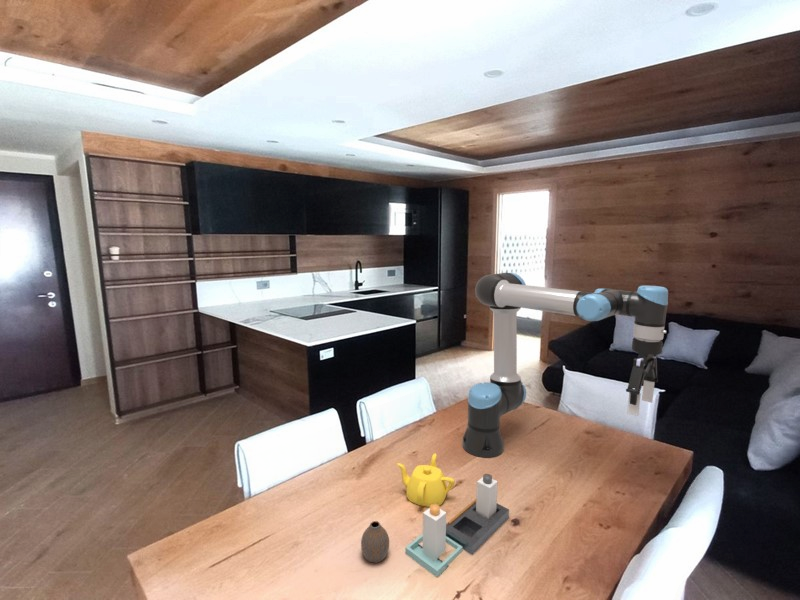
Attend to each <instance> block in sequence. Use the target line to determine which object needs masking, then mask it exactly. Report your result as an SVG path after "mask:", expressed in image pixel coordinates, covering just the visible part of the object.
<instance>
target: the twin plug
mask: <svg viewBox="0 0 800 600" xmlns="http://www.w3.org/2000/svg"><path fill="white" fill-rule="evenodd" d="M498 483H499V482H498V481H497V480H495V479H493V475H492V474H489V473H484V474H483V475H482V477H481V478H480V479H478V480H477V481H476V498H475V499H476V512H477V513H479V514H480V515H482V516H484V517H486V518H487V519H489V520H490V519H491V518H492V517H493V516H494V515H495V514H496V508H497V503H498Z"/></svg>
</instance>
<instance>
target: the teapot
mask: <svg viewBox="0 0 800 600" xmlns="http://www.w3.org/2000/svg"><path fill="white" fill-rule="evenodd" d="M396 465H397V466H398V467H399V468H400V471H401V479H402V480H401V481H402V484H403V485H404V486H405V488H406V491H405V492H406V497H407V499H408V501H409V502H411V503H413V504H415V505H418V506H420V507H426V508H430V505H431V504H438V505H439V506H440V507H441V505H442V504H443V503H444V501H445V499H446V498H447V495H448V493H449V491H450V490H452V489H453V488H454V486H455V479H454V478H453V477H450V476H445V475H444V473H443V471H442V469H441V468H438V467H437V453H433V454H432V456H431V460H430V463H429V464H420V465H417V466H416V467H415V468H414V469H413V471H412V473H411V475H410V476H409V475H408V473H407V467H406V466H405V465H404V464H402V463H400V462H396ZM447 482H448V484H447Z"/></svg>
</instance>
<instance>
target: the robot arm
mask: <svg viewBox="0 0 800 600" xmlns="http://www.w3.org/2000/svg"><path fill="white" fill-rule="evenodd" d="M474 292H475V296H476V298H477V299H478V301H479V302H480V303H481V304H483V305H484V306H487V307H489V309H490V310H491V311H492V313H493V373H492V374H491V375H490V376H489V380H490V381H489V382H478V383H476V384H474V385H472V386H471V387H470V389H469V390H468V397H467V404H468V405H467V407H468V409H467V427H466V429H465V432H464V434H463V437H462V448H463V450H464V451H466V452H467V453H468V454H470V455H473V456H475V457H481V458H495V457H497V456H500V455H501V454H502V453H503V452H504V444H505V443H504V441H503V436H502V433H501V429H500V427H501V425H500V424H501V417H502V416H503V415H506V414H508V413H509V412H512V411H514V410H517V409H518V408H519V407H520V406H521V405H523V404H524V402H525V400H526V398H527V388H526V386H525V384H523V382H522V378H521V376H520V375H519V374H518V373H517V372H518V371H517V370H518V369H517V366H518V363H517V361H518V360H517V359H518V358H517V353H518V351H517V350H518V349H517V347H518V346H517V344H518V343H517V342H518V341H517V338H518V337H517V334H518V333H517V331H518V330H517V325H518V324H517V323H518V322H517V320H518V319H517V314H518V312H519V311H520V310H521V308H522V309H527V310H528V309H529V310H535V311H541V312H548V313H553V314H559V315H560V314H561V315H567V316H573V317H578V318H579V317H580V318H582V319H583V320H585V321H587V322H599V321H601V320H604V319H607V318H609V317H612V316H615V315H617V316H627V317H633V318H634V323H633V324H634V325H633V333H632V336H633V338H632V341H631V342H632V344H631V350H632V351H633V352H635V353H638V356H636V357H635V358H633V365H632V369H631V373H630V375H629V376H630V377H629V381H628V385H627V388H625V391H626V392H627V393H628V401H627V402H628V403H627V413H626V414H629V415H632V416H636V417H639V414H640V405H641V401H643V402H647V403H650V404H652V403H653V401H654V400H653V398H654V390H655V389H654V388H655V383H658V381H659V378H658V360H657V359H658V355H661V354H662V352H663V346H664V342H663V339H664V336H665V335H664V334H667V330H665V326H666V317H667V311H668V305H669V301H668V299H669V290H668V288H666V287H665V286H660V285H659V286H658V285H640V286H638V288H637V290H636V291H629V290H623V289H612V288H597V289H595V290H594V292H591V291H590V292H589V291H580V290H572V289H563V288H555V287H545V286H535V285H528V284H526V282H525V280H524V279H523V278H522V277H521V276H520V274H517V273H515V272H499V273H491V274H486V275H484V276H482V277H481V278H480V279H478V281H477V282H476V285H475V288H474ZM642 386H643V387H642ZM641 390H642V392H641ZM640 392H641V393H640Z"/></svg>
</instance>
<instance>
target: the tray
mask: <svg viewBox="0 0 800 600" xmlns="http://www.w3.org/2000/svg"><path fill="white" fill-rule="evenodd" d="M421 542H423V533H421V534H420V535H419V536H418V537H417V538H415V539H414V540H412V542H410V543H409V544H408V545H406V546H405V550H404V553H405V554H406V555H407V556H408V557H409V558H411V559H412V560H414V561H415V562H416V563H418V564H419V565H420V566H422V567H423V568H424V569H425V570H427V572H429V573H430V574H431V575H434V577H436V578H438V577H440V575H442V573H444V571H446V569H448V568H449V566H450V565H449V564H450V563H452V562H453V560H455V558H456V557H457V556H459V555H460V554H461V553H462V552H463V550H464V549H463V547H462V546H461V545H459V544H458V543H456V542H454V541H453V540H451V539H450V538H448V537H447V536H446V544H448V545H449V546H450V547H453V548H454V549H455V550H454V551H452V552H451V553H450V554H449V556H447V557H446V558H445V559H444V560H442V559H440V558H439V559H438V560H437V561H436V562H434V561H433V560H431V559H430V558H429V557H427V556H426V555H425V554H423V545H421V544H420V543H421Z"/></svg>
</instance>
